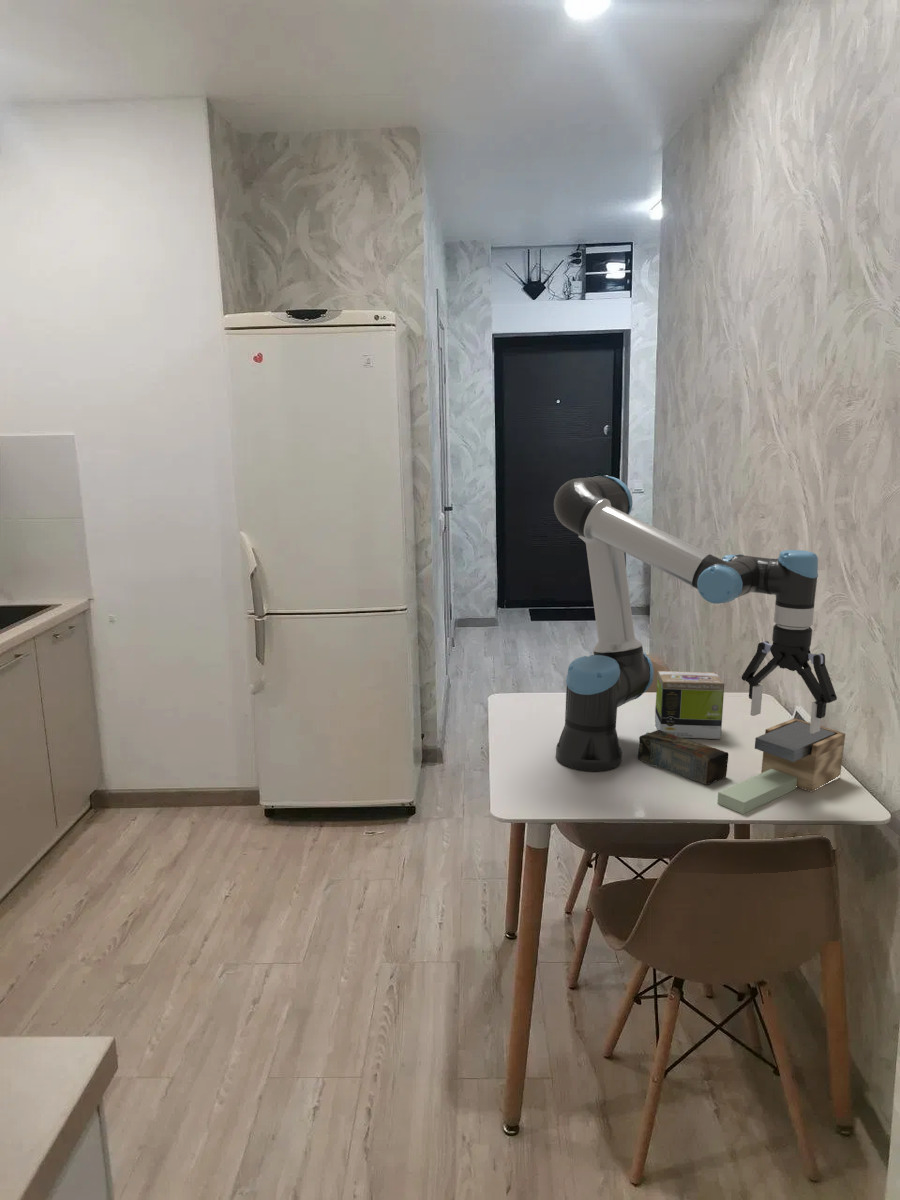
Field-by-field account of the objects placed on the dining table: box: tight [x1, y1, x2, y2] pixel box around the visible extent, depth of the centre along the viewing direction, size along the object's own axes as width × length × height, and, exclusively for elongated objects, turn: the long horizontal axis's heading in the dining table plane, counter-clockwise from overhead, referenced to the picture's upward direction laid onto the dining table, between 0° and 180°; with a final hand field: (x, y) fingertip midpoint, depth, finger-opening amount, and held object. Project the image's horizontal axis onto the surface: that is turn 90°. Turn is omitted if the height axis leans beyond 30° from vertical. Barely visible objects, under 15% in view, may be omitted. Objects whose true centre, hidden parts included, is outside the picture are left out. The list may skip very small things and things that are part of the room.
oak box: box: [760, 717, 846, 792], centre depth 191 cm, size 12×12×10 cm
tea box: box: [654, 670, 725, 740], centre depth 216 cm, size 15×10×15 cm, turn 84°
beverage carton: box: [637, 729, 729, 786], centre depth 194 cm, size 8×19×7 cm, turn 40°
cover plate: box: [754, 721, 836, 762], centre depth 187 cm, size 17×9×2 cm, turn 129°
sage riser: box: [717, 769, 797, 815], centre depth 181 cm, size 20×6×2 cm, turn 129°
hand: (784, 722), depth 182 cm, fingers open, 13 cm apart
